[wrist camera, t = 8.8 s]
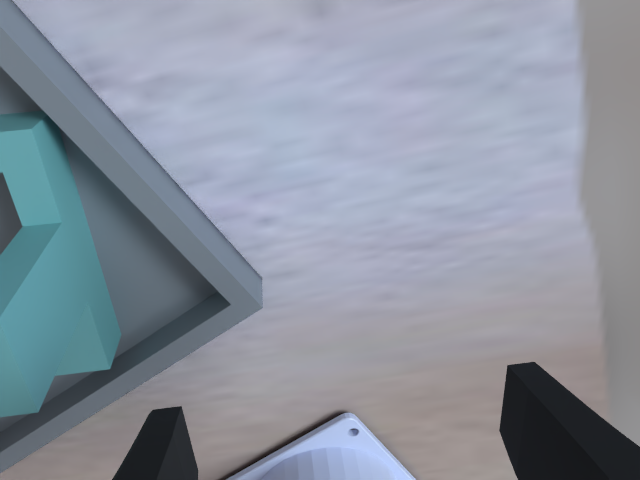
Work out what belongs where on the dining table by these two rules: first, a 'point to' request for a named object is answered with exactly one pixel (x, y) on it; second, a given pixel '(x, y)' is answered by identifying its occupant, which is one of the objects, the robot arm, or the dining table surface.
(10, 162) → the collar
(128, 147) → the tray
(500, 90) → the dining table surface
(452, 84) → the dining table surface
